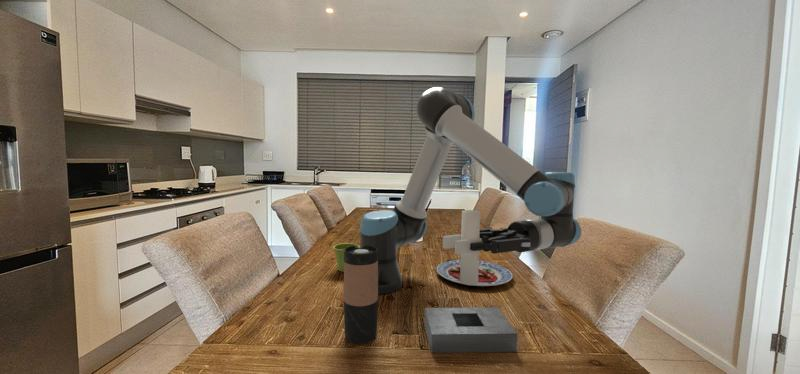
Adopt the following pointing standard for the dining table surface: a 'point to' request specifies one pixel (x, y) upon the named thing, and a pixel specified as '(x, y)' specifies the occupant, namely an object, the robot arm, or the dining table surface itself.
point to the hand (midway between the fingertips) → (449, 244)
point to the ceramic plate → (486, 274)
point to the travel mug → (360, 293)
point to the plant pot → (341, 254)
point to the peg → (471, 260)
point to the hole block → (469, 330)
